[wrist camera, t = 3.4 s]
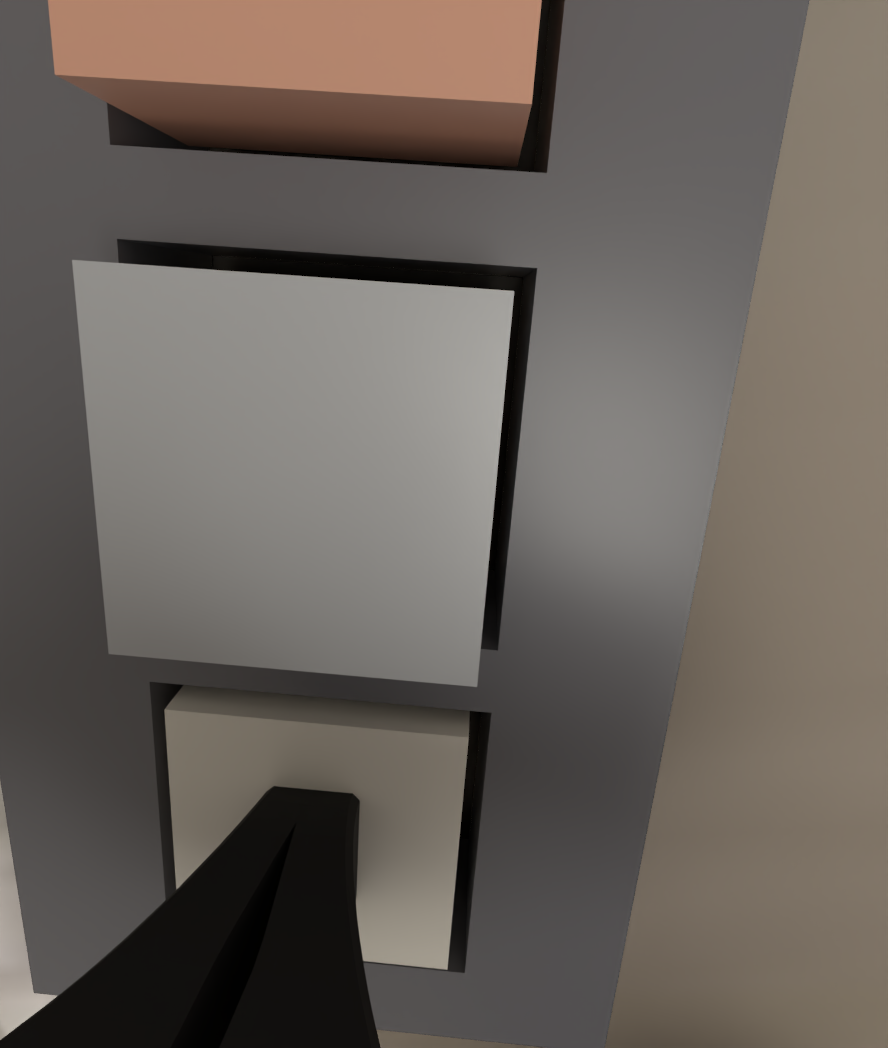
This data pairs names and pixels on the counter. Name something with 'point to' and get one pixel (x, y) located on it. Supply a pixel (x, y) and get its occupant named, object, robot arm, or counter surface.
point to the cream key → (339, 766)
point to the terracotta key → (312, 72)
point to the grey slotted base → (528, 490)
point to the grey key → (293, 466)
